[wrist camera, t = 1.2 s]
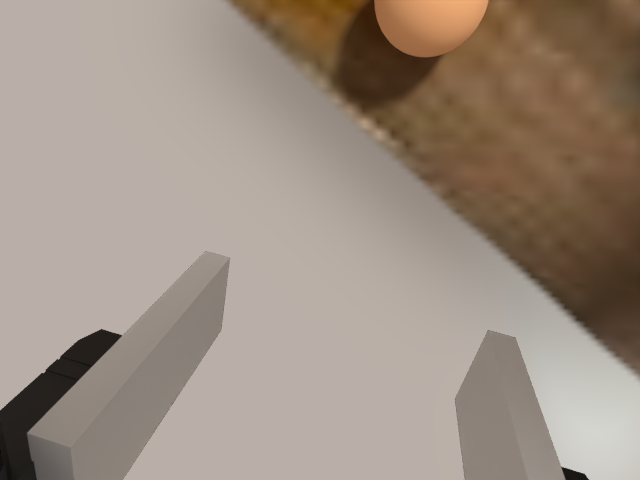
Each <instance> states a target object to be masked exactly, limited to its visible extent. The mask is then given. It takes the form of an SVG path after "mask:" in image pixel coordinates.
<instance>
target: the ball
mask: <svg viewBox="0 0 640 480" xmlns="http://www.w3.org/2000/svg"><path fill="white" fill-rule="evenodd" d="M488 1H489V0H374V2H375V12H376V17H377V21H378V24H379V26H380V28H381V31H382V32H383V34H384V35H385V37H386V38H387V39H388V41H389V42H390V43H391V44H392V45H393V46H394V47H396V48H397V49H399V50H400V51H402V52H404V53H406V54H409V55H412V56H416V57H434V56H438V55H442V54H445V53H447V52H450V51H451V50H453V49H455V48H457V47H458V46H459V45H461V44H462V43H463V42H464V41H465V40H467V39H468V38H469V37H470V36H471V34H472V33H473V32H474V31H475V29H476V28H477V26H478V25H479V23H480V22H481V20H482V18H483V16H484V13H485V11H486V8H487V5H488Z"/></svg>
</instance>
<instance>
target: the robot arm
mask: <svg viewBox="0 0 640 480" xmlns="http://www.w3.org/2000/svg"><path fill="white" fill-rule="evenodd" d="M229 260H230V258H229V257H225V256H221V255H218V254H214V253H211V252H207V251H205V252H204V254H202V255H201V256H200V257H199V258H198V259H197V260H196V261H195V262H194V263H193V265H191V266H190V268H188V270H187V271H186V272H185V273H184V274H183V275H182V276H181V277H180V278H179V279H178V280H177V281H176V282H175V283H174V284H173V285H172V286H171V287H170V288H169V289H168V290H167V291H166V292H165V293H164V294H163V295H162V296H161V297H160V298H159V299H158V300H157V301H156V302H155V303H154V304H153V305H152V306H151V307H150V308H149V309H148V310H147V311H146V312H145V313H144V314H143V315H142V316H141V317H140V318H139V320H138V321H137V322H136V323H135V324H134V325H133V326H132V327H131V328H130V329H129V330H128V331H127V332H126V333H125V334H124V335H123V336H122V335H119V334H116V333H112V332H109V331H106V330H102V329H101V330H99V331H97V332H95V333H93V334H91V335H88V336H86V337H84V338H82V339H80V340H78V341H77V342H76V343H75V344H74V345H73V346H72V347H70V348H69V349H68V350H67V351H66V352H65V353H64V354H63V355H62V356H61V358H60V359H59V360H58V359H57V360H56V361H55V362H54V363H53V364H52V365H50V366H49V367H48V368H47V369H46V372H45V373H41V374H40V375H39V376H38V377H37V378H36V379H35V380H34V381H33V382H31V383H30V384H29V385H28V386H27V387H26V388H25V389H24V390H23V391H21V392H20V393H19V394H18V395H17V396H16V397H15V398H14V399H13V400H11V401H10V402H9V403H8V404H7V405H6V406H5V407H4V408H2V410H0V480H123V479H124V477H125V476H126V474H127V472H128V471H129V470H130V468H131V466H132V465H133V463H134V462H135V460H136V459H137V457H138V456H139V454H140V453H141V451H142V450H143V448H144V447H145V445H146V444H147V442H148V441H149V439H150V438H151V436H152V435H153V433H154V432H155V430H156V428H157V427H158V425H159V424H160V422H161V421H162V419H163V418H164V416H165V415H166V413H167V412H168V410H169V409H170V407H171V406H172V404H173V403H174V401H175V400H176V398H177V396H178V395H179V394H180V392H181V390H182V389H183V387H184V386H185V384H186V383H187V381H188V379H189V378H190V377H191V375H192V374H193V372H194V371H195V369H196V368H197V366H198V365H199V363H200V362H201V360H202V358H203V357H204V355H205V354H206V352H207V351H208V349H209V348H210V346H211V345H212V343H213V342H214V340H215V339H216V337H217V336H218V334H219V333H220V331H221V327H222V319H223V311H224V301H225V294H226V286H227V277H228V269H229ZM455 404H456V412H457V420H458V428H459V436H460V445H461V453H462V460H463V469H464V477H465V480H589V479H588V478H587V477H586V475H585V474H583V473H580V472H576V471H573V470H570V469H567V468H563V467H561V466H560V463H559V460H558V457H557V454H556V451H555V449H554V446H553V443H552V440H551V437H550V435H549V431H548V429H547V426H546V423H545V420H544V418H543V414H542V412H541V409H540V406H539V403H538V400H537V398H536V395H535V392H534V389H533V386H532V384H531V381H530V378H529V375H528V372H527V370H526V366H525V364H524V361H523V358H522V355H521V352H520V349H519V347H518V344H517V341H516V338H515V337H511V336H508V335H504V334H500V333H497V332H493V331H490V330H488V331H487V333H486V335H485V338H484V340H483V342H482V344H481V346H480V348H479V350H478V352H477V354H476V356H475V358H474V360H473V363H472V365H471V367H470V369H469V371H468V373H467V375H466V377H465V379H464V381H463V383H462V385H461V387H460V390H459V392H458V394H457V396H456V398H455Z"/></svg>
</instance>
